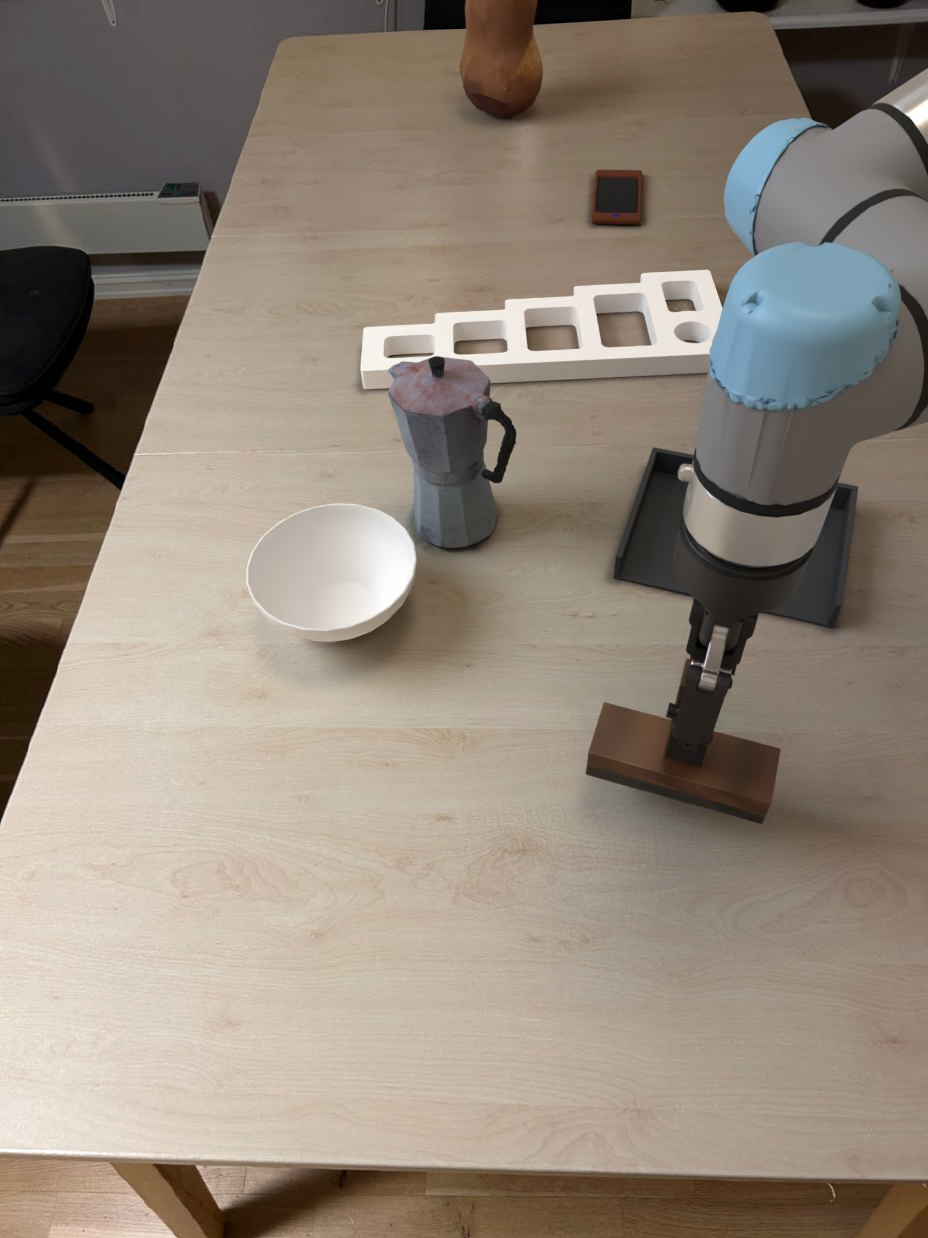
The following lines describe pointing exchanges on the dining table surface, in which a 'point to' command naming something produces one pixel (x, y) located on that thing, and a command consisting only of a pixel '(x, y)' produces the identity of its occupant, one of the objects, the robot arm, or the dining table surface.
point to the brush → (724, 782)
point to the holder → (575, 310)
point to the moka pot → (450, 447)
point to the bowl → (332, 571)
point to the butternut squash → (501, 56)
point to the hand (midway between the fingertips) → (687, 740)
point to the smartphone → (617, 197)
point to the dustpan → (657, 526)
